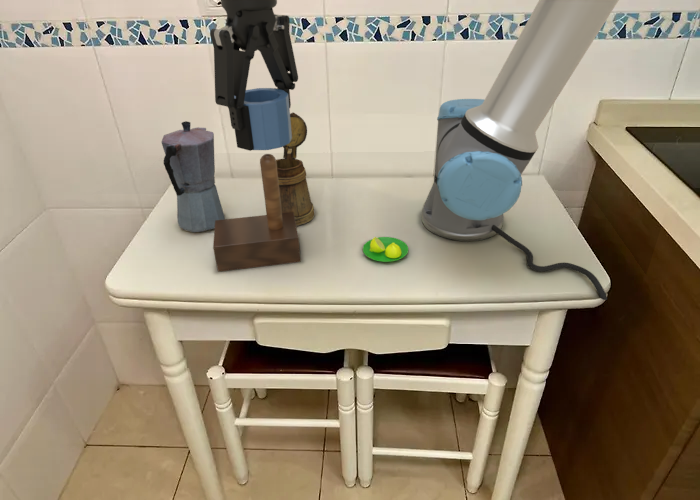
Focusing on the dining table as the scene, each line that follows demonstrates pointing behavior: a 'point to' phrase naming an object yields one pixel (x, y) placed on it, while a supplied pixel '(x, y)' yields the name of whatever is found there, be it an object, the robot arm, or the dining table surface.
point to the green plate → (385, 249)
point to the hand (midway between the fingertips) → (265, 138)
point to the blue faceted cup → (269, 117)
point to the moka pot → (193, 177)
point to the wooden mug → (294, 176)
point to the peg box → (258, 231)
